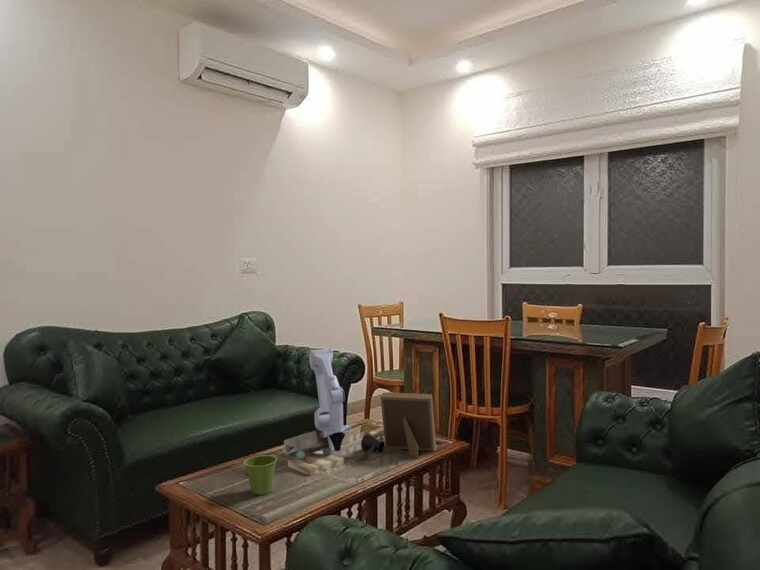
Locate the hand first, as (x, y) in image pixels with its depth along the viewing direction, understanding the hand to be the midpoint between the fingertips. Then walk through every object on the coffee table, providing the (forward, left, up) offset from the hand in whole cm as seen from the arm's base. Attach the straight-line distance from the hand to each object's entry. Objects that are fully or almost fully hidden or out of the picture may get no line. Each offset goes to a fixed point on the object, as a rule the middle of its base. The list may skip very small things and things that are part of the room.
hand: (337, 450), depth 233 cm
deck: (+11, 0, -3) cm, 12 cm away
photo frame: (-26, +16, -4) cm, 31 cm away
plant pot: (+41, +6, -4) cm, 42 cm away
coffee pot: (-12, +5, -4) cm, 14 cm away
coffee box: (+14, -14, +1) cm, 20 cm away
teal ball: (+15, -5, +1) cm, 16 cm away
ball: (+5, 0, +1) cm, 5 cm away
